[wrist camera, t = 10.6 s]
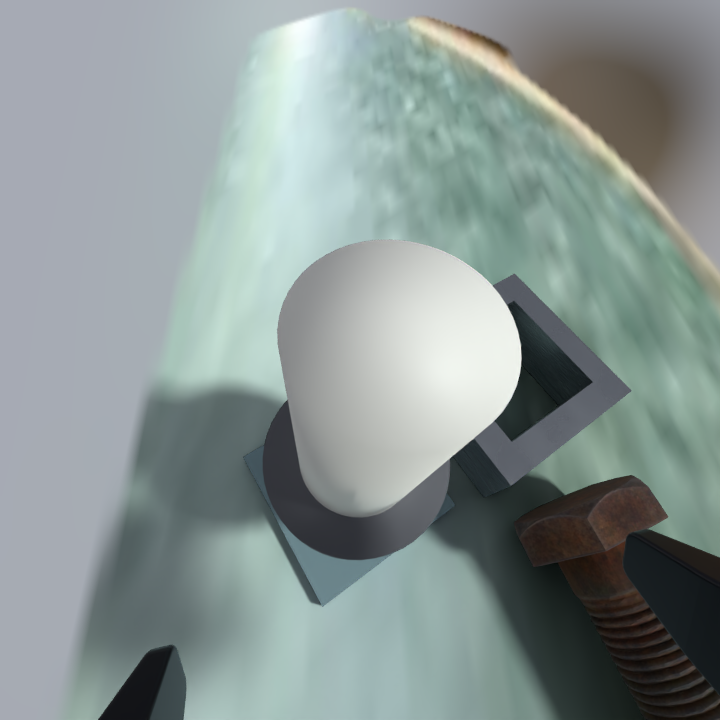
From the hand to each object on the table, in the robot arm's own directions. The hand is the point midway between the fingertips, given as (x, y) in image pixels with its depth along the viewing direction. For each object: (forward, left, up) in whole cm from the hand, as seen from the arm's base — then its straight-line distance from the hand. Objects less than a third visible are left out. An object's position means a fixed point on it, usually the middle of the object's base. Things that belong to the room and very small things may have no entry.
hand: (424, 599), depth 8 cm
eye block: (+4, -10, -10) cm, 15 cm away
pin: (+4, -1, -10) cm, 11 cm away
